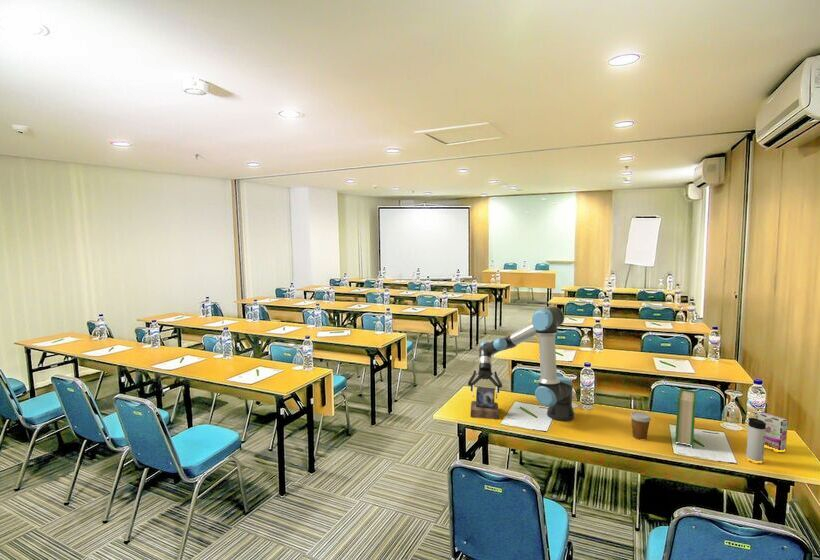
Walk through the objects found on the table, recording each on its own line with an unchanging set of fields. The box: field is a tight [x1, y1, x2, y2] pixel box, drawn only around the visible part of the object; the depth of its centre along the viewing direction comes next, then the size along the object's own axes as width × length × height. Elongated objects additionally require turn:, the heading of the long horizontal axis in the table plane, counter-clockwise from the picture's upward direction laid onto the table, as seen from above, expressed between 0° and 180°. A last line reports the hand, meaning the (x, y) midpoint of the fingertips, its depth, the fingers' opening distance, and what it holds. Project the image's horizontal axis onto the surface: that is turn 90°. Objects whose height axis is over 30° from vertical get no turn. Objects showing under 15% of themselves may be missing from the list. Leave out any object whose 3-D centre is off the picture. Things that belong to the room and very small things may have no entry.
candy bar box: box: [756, 411, 789, 450], centre depth 212 cm, size 11×5×16 cm, turn 21°
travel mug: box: [745, 417, 766, 462], centre depth 198 cm, size 6×7×20 cm
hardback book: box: [674, 388, 697, 447], centre depth 220 cm, size 18×7×24 cm, turn 145°
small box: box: [475, 386, 496, 409], centre depth 254 cm, size 11×6×10 cm, turn 75°
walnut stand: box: [470, 400, 500, 420], centre depth 254 cm, size 16×16×4 cm
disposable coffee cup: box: [629, 411, 652, 440], centre depth 223 cm, size 10×10×12 cm
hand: (484, 397), depth 251 cm, fingers open, 13 cm apart
